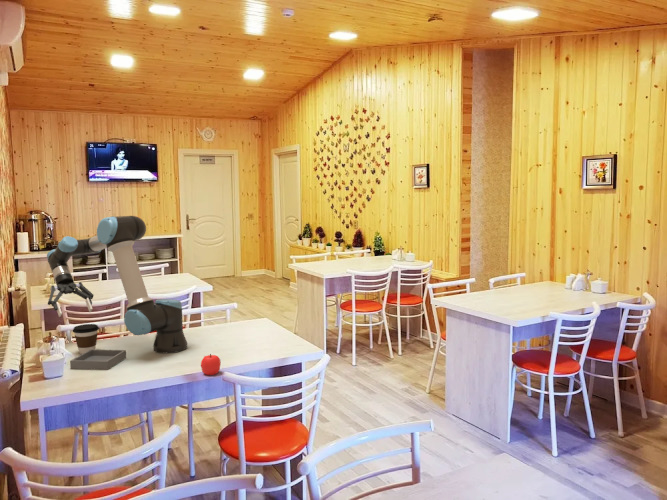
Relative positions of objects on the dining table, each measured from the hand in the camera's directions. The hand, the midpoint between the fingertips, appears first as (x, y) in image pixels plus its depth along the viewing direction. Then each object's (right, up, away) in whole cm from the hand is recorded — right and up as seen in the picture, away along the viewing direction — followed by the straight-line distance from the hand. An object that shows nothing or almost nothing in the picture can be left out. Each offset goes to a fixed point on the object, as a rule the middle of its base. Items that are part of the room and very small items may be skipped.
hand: (76, 312), depth 253 cm
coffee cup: (+8, -18, -6) cm, 20 cm away
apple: (+71, -20, -36) cm, 82 cm away
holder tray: (+20, -19, -22) cm, 36 cm away
